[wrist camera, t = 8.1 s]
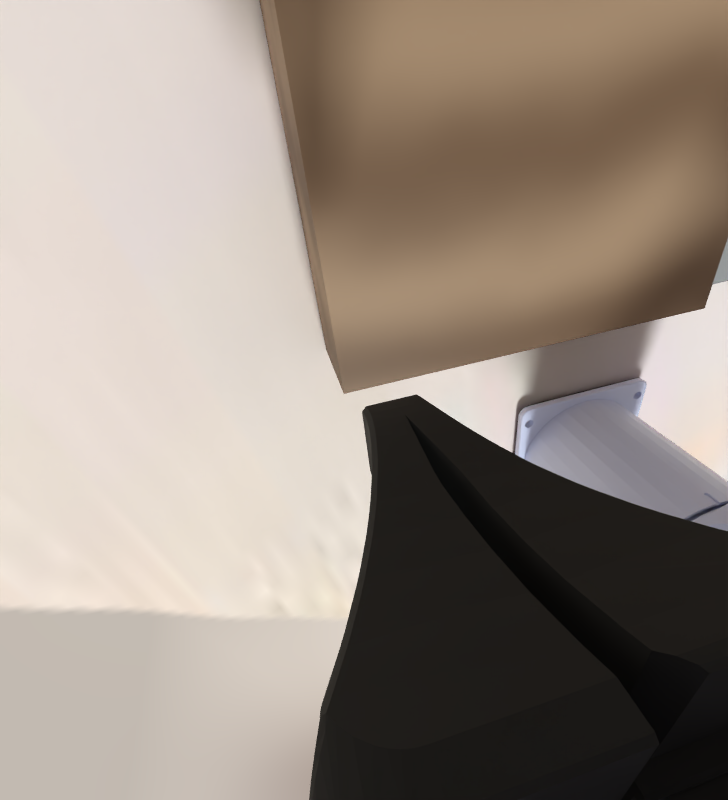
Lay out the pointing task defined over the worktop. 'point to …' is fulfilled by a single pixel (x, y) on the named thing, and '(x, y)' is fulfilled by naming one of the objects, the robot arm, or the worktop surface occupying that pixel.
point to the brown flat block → (501, 170)
